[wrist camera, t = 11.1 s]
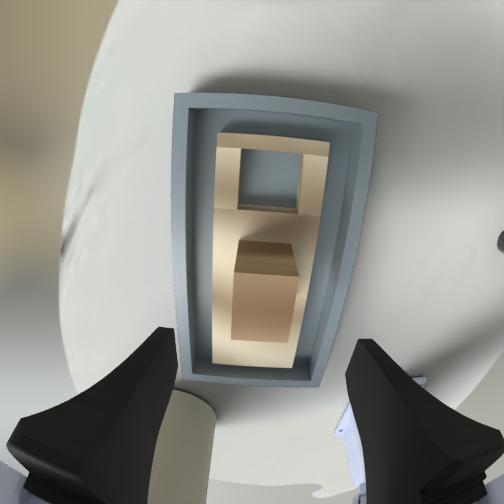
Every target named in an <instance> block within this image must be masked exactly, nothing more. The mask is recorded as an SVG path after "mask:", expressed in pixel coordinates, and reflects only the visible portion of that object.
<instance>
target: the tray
mask: <svg viewBox="0 0 504 504" xmlns="http://www.w3.org/2000/svg"><path fill="white" fill-rule="evenodd" d="M377 120H378V113H377V112H373V111H368V110H363V109H359V108H354V107H348V106H343V105H337V104H331V103H325V102H319V101H312V100H304V99H296V98H287V97H278V96H266V95H253V94H234V93H175V94H174V109H173V129H172V161H171V223H172V255H173V276H174V293H175V307H176V319H177V331H178V341H179V351H180V360H181V369H182V377H183V379H185V380H193V381H202V382H211V383H222V384H234V385H248V386H268V387H319V385H320V382H321V379H322V377H323V374H324V370H325V367H326V364H327V361H328V358H329V355H330V352H331V348H332V345H333V342H334V338H335V335H336V332H337V328H338V325H339V321H340V317H341V314H342V310H343V306H344V303H345V299H346V295H347V291H348V287H349V283H350V279H351V275H352V270H353V266H354V262H355V257H356V253H357V248H358V243H359V238H360V234H361V228H362V223H363V218H364V213H365V207H366V201H367V195H368V189H369V183H370V177H371V170H372V163H373V155H374V147H375V139H376V130H377ZM218 132H227V133H246V134H260V135H272V136H283V137H293V138H302V139H310V140H318V141H325V142H329V143H330V146H329V155H328V164H327V172H326V180H325V188H324V196H323V203H322V210H321V217H320V223H319V230H318V236H317V243H316V249H315V255H314V261H313V267H312V272H311V278H310V283H309V289H308V294H307V300H306V305H305V310H304V315H303V320H302V325H301V330H300V334H299V339H298V344H297V348H296V353H295V357H294V362H293V366H292V368H275V367H255V366H239V365H227V364H215V363H212V261H213V219H214V190H215V167H216V148H217V133H218ZM300 164H301V154H300V153H291V152H281V151H269V150H257V149H242V156H241V171H240V187H239V203H238V204H245V205H259V206H272V207H284V208H295V209H296V200H297V192H298V183H299V173H300Z"/></svg>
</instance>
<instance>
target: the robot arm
mask: <svg viewBox="0 0 504 504" xmlns="http://www.w3.org/2000/svg"><path fill="white" fill-rule="evenodd" d="M177 369H178V361H177V352H176V343H175V334H174V329H173V328H165V327H158V328H157V329H156V330H155V331H154V332H153V333H152V334H151V335H150V336H149V337H148V338H147V339H146V340H145V341H144V342H143V343H142V344H141V345H140V346H139V347H138V348H137V349H136V350H135V351H134V352H133V353H132V354H131V355H130V356H129V357H128V358H127V359H126V360H125V361H123V362H122V363H121V364H120V365H119V366H118V367H116V368H115V369H114V370H113V371H112V372H111V373H109V374H108V375H107V376H105V377H104V378H103V379H102V380H100V381H99V382H97V383H96V384H95V385H93V386H92V387H90V388H89V389H87V390H85V391H84V392H82V393H80V394H78V395H77V396H75V397H73V398H71V399H70V400H68V401H66V402H64V403H62V404H59V405H57V406H55V407H53V408H50V409H48V410H45V411H43V412H40V413H37V414H34V415H31V416H28V417H24V418H21V419H20V421H19V422H18V424H17V426H16V428H15V429H14V431H13V433H12V435H11V436H10V438H9V440H8V442H7V445H6V446H7V449H8V450H9V452H10V453H11V454H12V455H13V457H14V458H15V459H16V460H17V461H19V462H20V464H22V465H23V466H24V467H25V468H26V469H27V470H28V471H29V475H28V477H26V476H24V475H23V474H21V473H20V472H18V471H16V470H15V469H13V468H11V467H10V466H8V465H7V464H5V463H3V462H2V461H0V504H147V502H148V492H149V484H150V476H151V470H152V463H153V458H154V452H155V447H156V442H157V438H158V434H159V430H160V427H161V424H162V421H163V418H164V415H165V412H166V409H167V406H168V403H169V400H170V397H171V394H172V391H173V388H174V384H175V379H176V374H177ZM345 377H346V384H347V391H348V396H349V400H350V403H349V405H348V407H347V409H346V411H345V413H344V415H343V417H342V419H341V421H340V423H339V425H338V426H337V428H336V430H335V432H334V436H335V437H343V442H344V447H345V452H346V457H347V462H348V467H349V473H350V477H351V479H352V481H353V482H354V484H355V485H356V486H357V487H359V488H360V493H358V494H356V495H355V496H354V498H353V501H352V503H351V504H504V474H503V475H501V476H500V477H498V478H496V479H494V480H492V481H491V482H489V483H487V484H486V485H484V483H483V480H484V479H485V478H486V474H485V470H486V469H487V468H489V467H490V466H491V465H492V464H493V463H494V462H495V461H496V460H498V459H499V458H500V457H501V456H502V454H503V453H504V438H503V436H502V434H501V432H500V430H497V429H495V428H492V427H489V426H486V425H483V424H481V423H479V422H476V421H474V420H472V419H470V418H468V417H466V416H464V415H462V414H460V413H458V412H457V411H455V410H453V409H452V408H450V407H448V406H447V405H445V404H444V403H442V402H441V401H439V400H438V399H437V398H435V397H434V396H433V395H431V394H430V393H429V392H427V391H426V390H425V389H424V388H423V387H424V385H425V383H426V381H427V379H426V377H418V378H411V377H410V376H409V375H408V374H407V373H406V372H405V371H404V370H403V369H402V368H401V367H400V366H399V365H398V364H397V363H396V362H395V361H394V360H393V359H392V358H391V357H390V356H389V355H388V354H387V353H386V352H385V351H384V350H383V349H382V348H381V347H380V346H379V345H378V344H377V343H376V342H375V341H374V340H373V339H358V341H357V344H356V347H355V349H354V352H353V355H352V358H351V360H350V363H349V366H348V368H347V371H346V373H345Z"/></svg>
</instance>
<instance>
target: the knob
mask: <svg viewBox="0 0 504 504" xmlns="http://www.w3.org/2000/svg"><path fill="white" fill-rule="evenodd" d="M497 245H498V249H499V250H500V251H501V252H502V253H504V231H503V232H502V233H501V235H500V236H499V239H498V244H497Z"/></svg>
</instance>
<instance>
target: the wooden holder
mask: <svg viewBox="0 0 504 504" xmlns="http://www.w3.org/2000/svg"><path fill="white" fill-rule="evenodd" d="M329 146H330V143H329V142H325V141H318V140H310V139H302V138H293V137H283V136H272V135H260V134H246V133H227V132H218V133H217V148H216V167H215V190H214V219H213V261H212V363H215V364H227V365H239V366H255V367H275V368H292V366H293V362H294V357H295V353H296V348H297V344H298V339H299V334H300V330H301V325H302V320H303V315H304V310H305V305H306V300H307V294H308V289H309V283H310V278H311V272H312V267H313V261H314V255H315V249H316V243H317V236H318V230H319V223H320V217H321V210H322V203H323V196H324V188H325V180H326V172H327V164H328V155H329ZM242 149H257V150H269V151H281V152H291V153H300V154H301V164H300V173H299V183H298V192H297V200H296V209H295V208H284V207H272V206H259V205H245V204H238V203H239V187H240V171H241V156H242Z"/></svg>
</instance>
